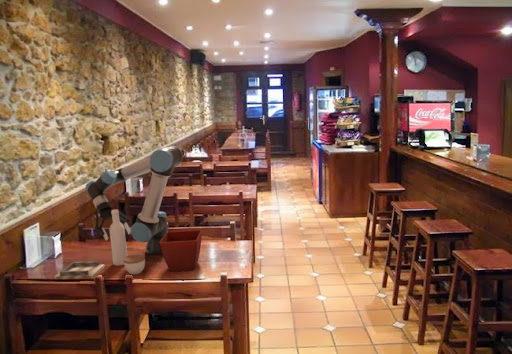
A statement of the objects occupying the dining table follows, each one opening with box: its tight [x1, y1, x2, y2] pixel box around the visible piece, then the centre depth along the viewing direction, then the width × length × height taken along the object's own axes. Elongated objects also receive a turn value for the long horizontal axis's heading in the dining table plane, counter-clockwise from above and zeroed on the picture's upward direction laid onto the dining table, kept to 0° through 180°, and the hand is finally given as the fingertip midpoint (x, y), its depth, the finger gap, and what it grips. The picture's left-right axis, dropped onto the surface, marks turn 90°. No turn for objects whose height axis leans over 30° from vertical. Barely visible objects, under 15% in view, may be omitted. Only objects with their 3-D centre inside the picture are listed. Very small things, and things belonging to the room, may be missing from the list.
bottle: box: [109, 208, 128, 267], centre depth 259 cm, size 8×8×30 cm
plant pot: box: [159, 229, 203, 272], centre depth 249 cm, size 19×19×17 cm
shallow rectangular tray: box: [53, 261, 106, 280], centre depth 250 cm, size 20×16×4 cm
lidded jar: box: [123, 254, 146, 275], centre depth 246 cm, size 11×11×9 cm
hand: (119, 236), depth 257 cm, fingers open, 13 cm apart
